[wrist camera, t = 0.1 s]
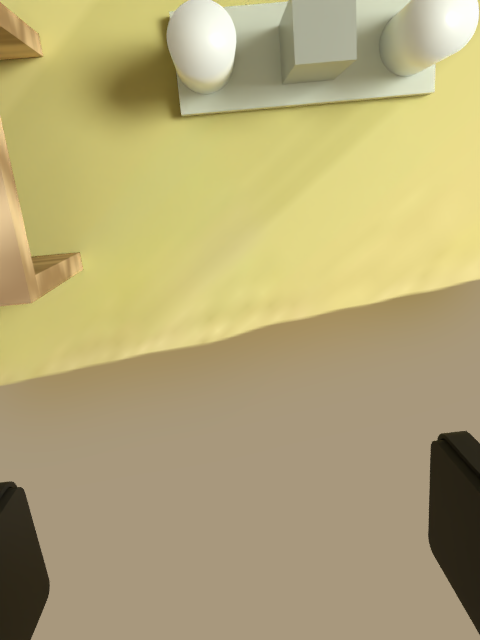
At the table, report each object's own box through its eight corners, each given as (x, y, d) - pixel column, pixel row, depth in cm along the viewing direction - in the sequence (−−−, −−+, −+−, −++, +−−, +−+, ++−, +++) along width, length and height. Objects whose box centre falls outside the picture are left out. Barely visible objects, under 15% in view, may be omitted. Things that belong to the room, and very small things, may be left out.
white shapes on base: (170, 17, 35) (158, -26, 28) (430, -6, 35) (485, -53, 28) (182, 117, 37) (173, 101, 30) (427, 94, 37) (477, 74, 30)
